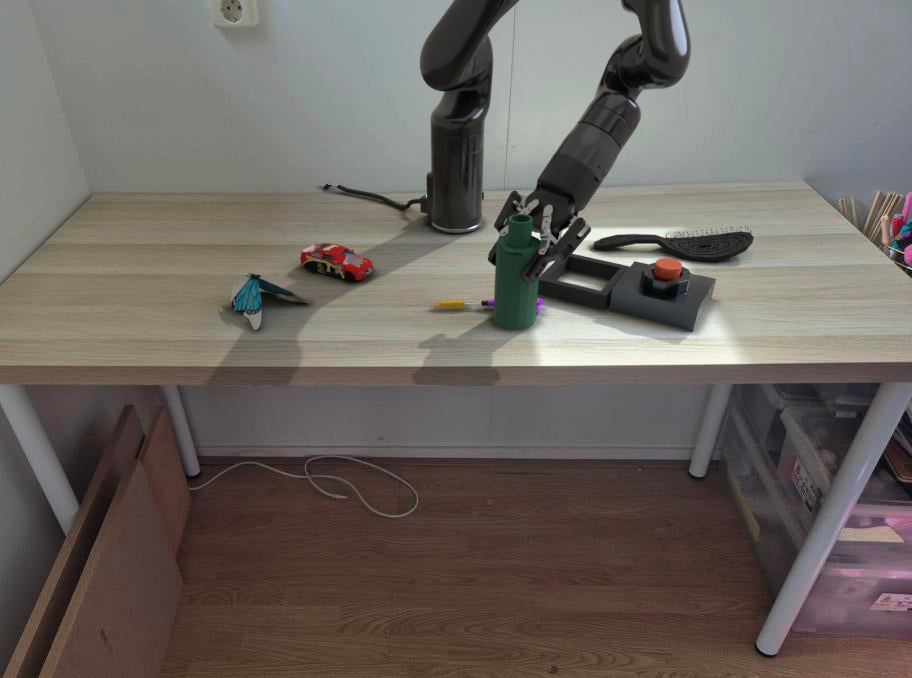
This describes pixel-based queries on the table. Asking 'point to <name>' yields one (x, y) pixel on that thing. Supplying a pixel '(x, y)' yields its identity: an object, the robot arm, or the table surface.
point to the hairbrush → (687, 244)
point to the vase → (515, 275)
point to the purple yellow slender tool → (484, 303)
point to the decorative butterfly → (255, 297)
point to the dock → (575, 292)
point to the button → (667, 268)
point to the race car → (336, 261)
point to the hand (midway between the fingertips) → (508, 272)
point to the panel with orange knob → (662, 296)
